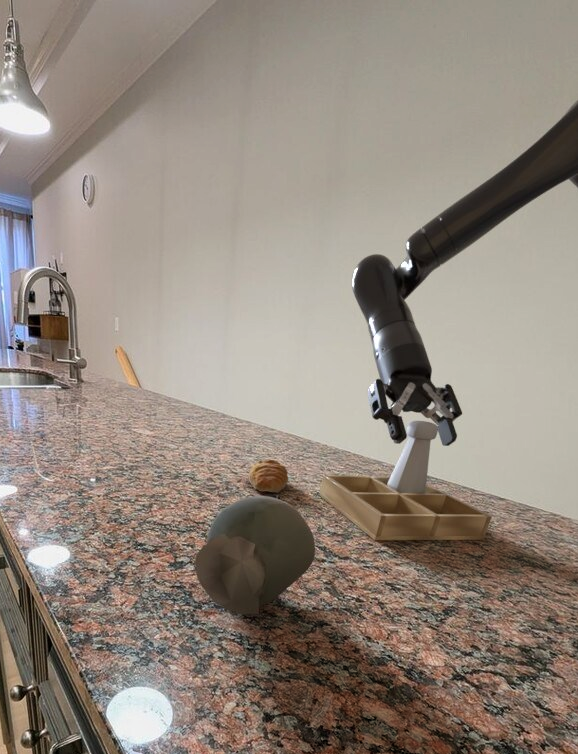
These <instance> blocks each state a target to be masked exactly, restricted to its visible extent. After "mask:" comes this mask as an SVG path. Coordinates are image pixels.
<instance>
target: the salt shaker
mask: <svg viewBox="0 0 578 754" xmlns="http://www.w3.org/2000/svg"><path fill="white" fill-rule="evenodd" d="M437 426H438V425H437V424H436V423H435V422H430V421H425V420H412V421H411V422H409V424H408V426H407V427H406V434H407V437H408V439H407V442H406V443H405V445H404V447H403V450H402V451H401V454H400V456H399V458H398V460H397V462H396V464H395V465H394V466H395V467H394V469H393V471H392V473H391V475H390V476H389V477H390V479H389V481H388V483H387V485H388V486H389V487H391V488H393V489H395V490H396V491H398V492H400V493H425V491H426V483H427V481H428V470H429V460H430V450H431V441H432V440H435V439H436V438H437V435H438V434H439V432H438V427H437Z"/></svg>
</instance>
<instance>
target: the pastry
mask: <svg viewBox="0 0 578 754" xmlns="http://www.w3.org/2000/svg"><path fill="white" fill-rule="evenodd" d="M247 475H248V476H247V477H248V481H249V484H250V485H251V486H252V487H253V488H254V490H257V491H258V492H271V493H276V494H277V493H278V494H279V493H280V492H281V491H283V490H284V489H286V486H287V484H288V481H289V476H288V470H287V468H286V467H285V466H284V465H281V463H280V462H279V461H276V460H275V459H264V460H258V462H256V463H253V466H252V467H251V468H250V470H249V472H248V474H247Z"/></svg>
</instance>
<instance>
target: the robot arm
mask: <svg viewBox="0 0 578 754" xmlns="http://www.w3.org/2000/svg"><path fill="white" fill-rule="evenodd" d="M568 180H569V181H570V182H571V183H572V184H573V185H574V186H575V187H576V188H577V189H578V99H577V100H576V101H575V102H574V103H573V104H572V105H571V106H570V107H569V108H568V110H567V111H566V112H565V113H564V114H563V115H562V117H561V118H559V120H558V121H557V122H556V123H555V124H554V125H553V126H551V128H550V129H548V130H547V131H546V132H545V133H544V134H543V135H542V136H541V137H540V138H538V139H537V140H536V141H535V143H533V144H532V145H531V146H530V147H529V148H527V149H526V150H525V151H524V152H522V153H521V154H520V155H519V156H517V157H516V158H515V159H513V160H512V161H511V162H510V163H508V164H507V165H506V166H505V167H504V168H502V169H501V170H499V171H498V172H497V173H495V174H494V175H493V176H491V177H490V178H489V179H487V180H486V181H484V182H483V183H482V184H480V185H479V186H477V187H476V188H474V189H473V190H471V191H470V192H468V193H467V194H466V195H464V196H463V197H461V198H460V199H458V200H457V201H455V202H454V203H453V204H450V206H449V207H447V208H446V209H444V210H442V212H440V213H439V214H437V215H436V216H435V217H433V218H432V219H431V220H429V221H428V222H427V223H425V224H424V225H422V227H420V228H419V229H418V230H416V231H414V233H412V234H411V235H410V236H409V237H408V238H407V239H406V242H405V252H406V257H405V258H404V260H403V261H402V262H401V263H400V264H399V265H398V267H395V265H394V264H393V262H392V261H391V259H389V258H388V257H387V256H385V255H383V254H381V253H380V254H379V253H374V254H370V255H367V256H365V257H364V258H362V259H361V260H360V261H359V262H358V264H356V266H355V267H354V270H353V273H352V276H351V289H352V293H353V295H354V297H355V300H356V303H357V305H358V307H359V309H360V311H361V313H362V315H363V317H364V319H365V322H366V324H367V329H368V334H369V337H370V341H371V345H372V352H373V354H372V355H373V358H374V361H375V365H376V369H377V372H378V376H379V378H376V379H375V380H374V381H373V383H372V384H371V385H370V386H369V387H368V389H367V395H368V401H369V406H370V411H371V416H372V419H374V420H375V421H376V420H377V421H378V420H383V423H384V424H386V427H387V430H388V433H389V437H390V439H391V440H392V441H393V443H394V444H398V445H400V444H401V443H403V442H405V440H406V439H407V437H408V435H407V429H406V427H405V424H404V420H403V416H401V412H403V413H409V412H414V413H419V414H421V415H422V416H423V417H424V418H426V419H431V421H432V422H433V423H434V424H436V425H437V427H438V435H439V438H440V442H441V445H442V446H444V447H449V446H450V445H452V444H454V443H455V442H456V441H457V438H458V433H457V431H456V428H455V425H454V421H455V420H457V419H458V418H459V417H461V416H462V415H463V410H462V409H461V408H462V407H461V405H460V403H459V400H458V398H457V396H456V394H455V391H454V389H453V386H452V385H451V384H449V383H446V384H445V385H443V386H442V387H440V386H439V387H437V386H436V385H435V384H434V383H433V382H432V373H433V368H432V365H431V362H430V360H429V355H428V353H427V350H426V347H425V345H424V342H423V338H422V335H421V333H420V331H419V330H418V328H417V325H416V322H415V320H414V317H413V313H412V311H411V309H410V306H409V305H408V303H407V302H406V299H407V298H408V297H409V296H411V294H412V293H414V291H415V290H416V289H418V287H419V286H420V285H421V284H422V283H423V282H424V281H425V280H426V279H427V278H428V277H429V276H430V275H431V273H433V272H435V270H437V269H438V268H440V267H441V266H443V265H445V264H446V263H447V262H449V261H450V260H452V259H454V258H455V257H456V256H458V255H460V254H461V253H462V252H463V251H465V250H466V249H468V248H469V247H470V246H472V245H473V244H475V243H476V242H478V241H479V240H480V239H481V238H483V237H485V235H487V234H488V233H490V232H491V231H492V230H493V229H495V228H496V227H498V226H499V225H500V224H501V223H503V222H504V221H505V220H507V219H508V218H510V217H511V216H512V215H515V213H517V212H518V211H519V210H520V209H522V208H524V207H525V206H527V205H529V204H530V203H531V202H532V201H534V200H536V199H537V198H539V197H541V196H542V195H543V194H545V193H547V192H548V191H550V190H552V189H553V188H555V187H557V186H558V185H561V184H562V183H564V182H566V181H568ZM387 398H388V399H389V400H390V401H391V403H390V405H389V404H388V401H387ZM432 403H433V404H434V406H433V407H432V408H429V407H430V406H431V404H432ZM437 412H439V414H441V415H442V416H440V415H439V414H438V413H437Z"/></svg>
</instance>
